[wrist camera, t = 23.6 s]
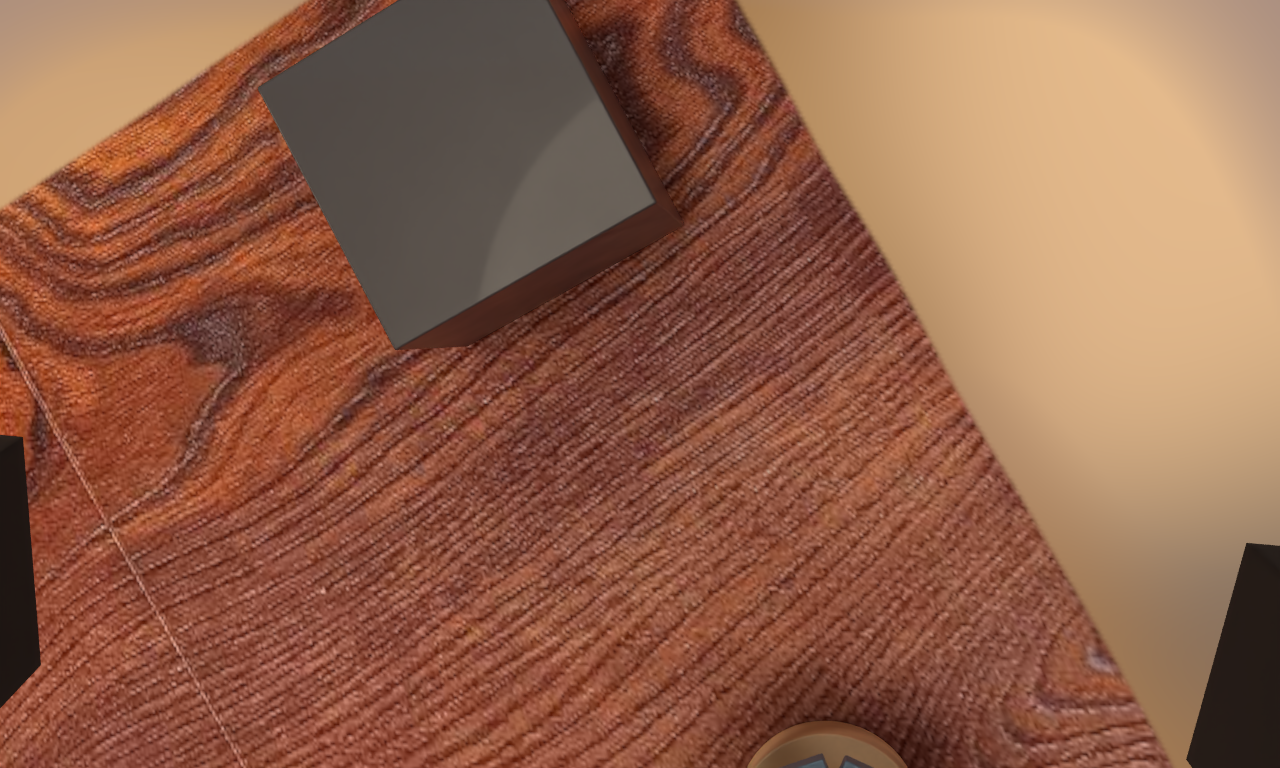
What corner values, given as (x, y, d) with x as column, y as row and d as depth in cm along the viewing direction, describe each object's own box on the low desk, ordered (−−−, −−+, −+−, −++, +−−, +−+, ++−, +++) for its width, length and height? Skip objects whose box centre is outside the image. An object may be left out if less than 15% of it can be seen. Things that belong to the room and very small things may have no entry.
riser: (564, -1, 45) (510, -72, 37) (685, 225, 44) (657, 202, 36) (351, 128, 46) (255, 87, 38) (466, 347, 46) (394, 350, 38)
